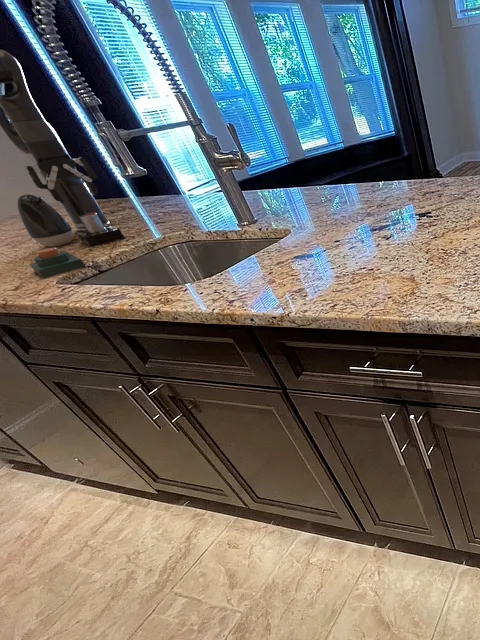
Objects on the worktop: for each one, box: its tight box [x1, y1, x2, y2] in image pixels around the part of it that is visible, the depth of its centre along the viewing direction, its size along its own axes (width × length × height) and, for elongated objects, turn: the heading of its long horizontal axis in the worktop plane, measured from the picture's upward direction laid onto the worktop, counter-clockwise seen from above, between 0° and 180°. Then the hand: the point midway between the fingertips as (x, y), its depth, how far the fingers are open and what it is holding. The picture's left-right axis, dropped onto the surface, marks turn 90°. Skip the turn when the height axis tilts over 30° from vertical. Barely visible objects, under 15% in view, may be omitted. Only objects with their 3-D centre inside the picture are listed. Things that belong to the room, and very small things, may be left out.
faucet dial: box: [79, 212, 106, 233], centre depth 134 cm, size 4×4×5 cm
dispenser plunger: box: [36, 247, 60, 258], centre depth 113 cm, size 4×4×2 cm
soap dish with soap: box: [29, 250, 86, 279], centre depth 114 cm, size 10×9×4 cm
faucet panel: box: [76, 225, 125, 248], centre depth 136 cm, size 10×9×3 cm
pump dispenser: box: [16, 193, 74, 248], centre depth 133 cm, size 10×10×15 cm
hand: (79, 198), depth 130 cm, fingers open, 8 cm apart
